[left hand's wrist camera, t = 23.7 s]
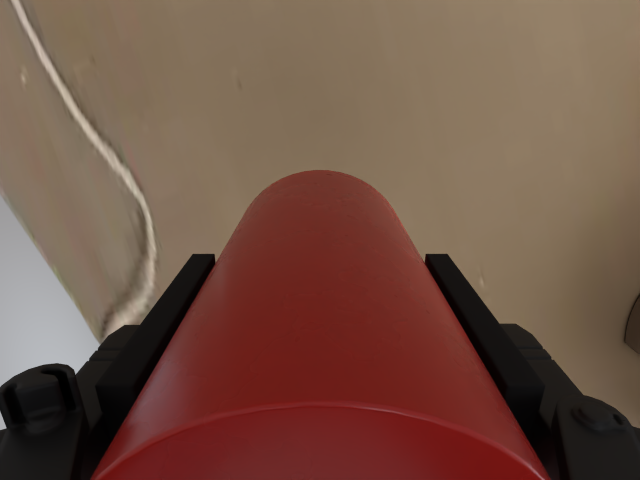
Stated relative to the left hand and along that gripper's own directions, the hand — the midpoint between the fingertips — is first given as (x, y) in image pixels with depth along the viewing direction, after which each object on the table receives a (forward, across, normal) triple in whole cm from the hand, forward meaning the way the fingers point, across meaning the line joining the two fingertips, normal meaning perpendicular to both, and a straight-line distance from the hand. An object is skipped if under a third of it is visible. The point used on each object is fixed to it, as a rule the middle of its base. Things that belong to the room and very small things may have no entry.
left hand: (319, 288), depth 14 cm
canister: (+3, 0, 0) cm, 3 cm away
